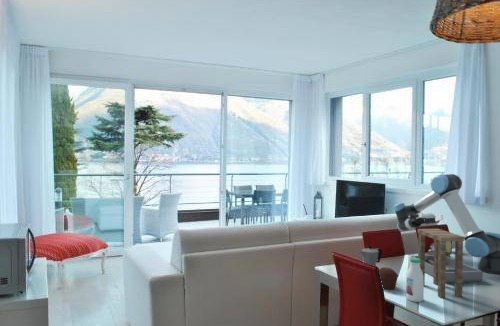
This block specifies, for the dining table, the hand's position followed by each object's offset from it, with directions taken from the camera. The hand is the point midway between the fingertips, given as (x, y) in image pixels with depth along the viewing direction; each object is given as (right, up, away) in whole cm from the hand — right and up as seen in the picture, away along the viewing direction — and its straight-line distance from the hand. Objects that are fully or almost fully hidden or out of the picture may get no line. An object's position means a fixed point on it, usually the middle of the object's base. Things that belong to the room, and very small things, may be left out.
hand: (432, 215), depth 243 cm
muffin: (-42, -33, -38) cm, 66 cm away
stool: (-17, -33, -43) cm, 57 cm away
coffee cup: (+27, -31, +38) cm, 56 cm away
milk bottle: (-35, -33, -55) cm, 73 cm away
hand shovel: (0, -31, -13) cm, 34 cm away
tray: (+1, -32, -14) cm, 35 cm away
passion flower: (+16, -32, +25) cm, 44 cm away
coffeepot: (-45, -32, -20) cm, 59 cm away
